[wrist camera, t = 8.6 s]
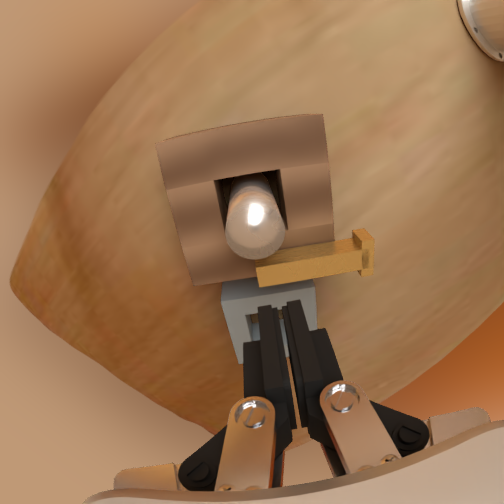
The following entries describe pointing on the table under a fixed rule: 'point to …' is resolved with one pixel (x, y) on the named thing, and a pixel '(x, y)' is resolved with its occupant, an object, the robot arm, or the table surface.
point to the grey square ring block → (252, 296)
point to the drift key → (318, 260)
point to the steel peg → (253, 218)
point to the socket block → (241, 163)
